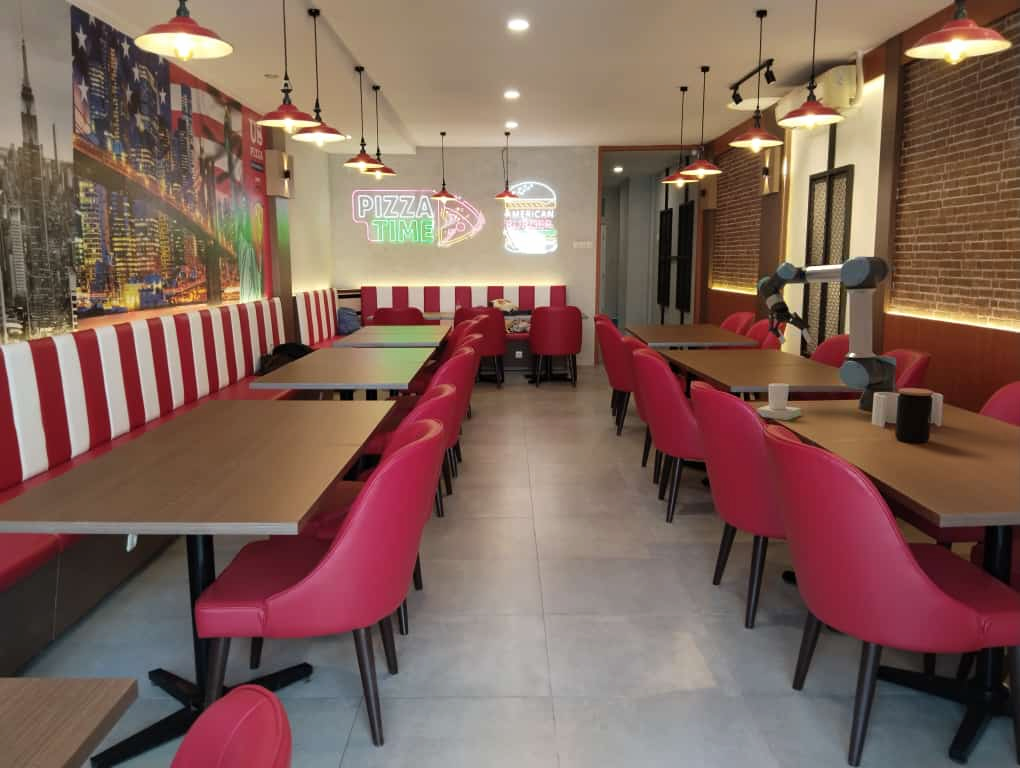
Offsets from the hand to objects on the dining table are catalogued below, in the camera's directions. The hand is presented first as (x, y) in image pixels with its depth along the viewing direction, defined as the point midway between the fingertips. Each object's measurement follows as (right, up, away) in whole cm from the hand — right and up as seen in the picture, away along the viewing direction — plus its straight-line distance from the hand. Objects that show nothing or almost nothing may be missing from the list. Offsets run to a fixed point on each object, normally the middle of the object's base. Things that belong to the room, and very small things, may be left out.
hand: (796, 342), depth 329 cm
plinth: (-16, -32, -21) cm, 41 cm away
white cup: (-16, -29, -22) cm, 40 cm away
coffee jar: (+16, -39, -65) cm, 77 cm away
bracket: (+27, -35, -39) cm, 59 cm away
